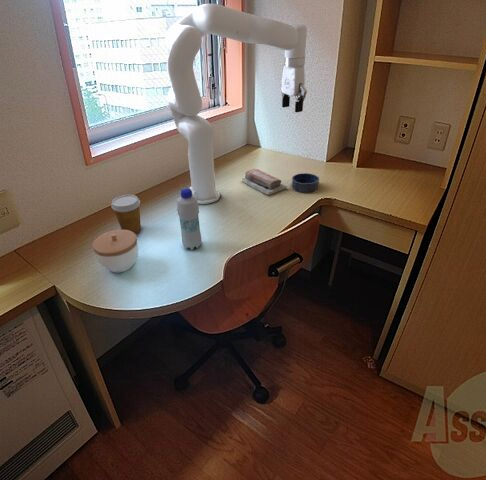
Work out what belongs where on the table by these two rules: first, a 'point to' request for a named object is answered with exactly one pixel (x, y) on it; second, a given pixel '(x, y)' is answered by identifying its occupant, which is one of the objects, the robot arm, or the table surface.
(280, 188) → the butter dish
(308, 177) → the dark blue bowl
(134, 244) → the lidded bowl
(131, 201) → the disposable coffee cup
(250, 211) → the table surface
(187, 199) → the bottle
